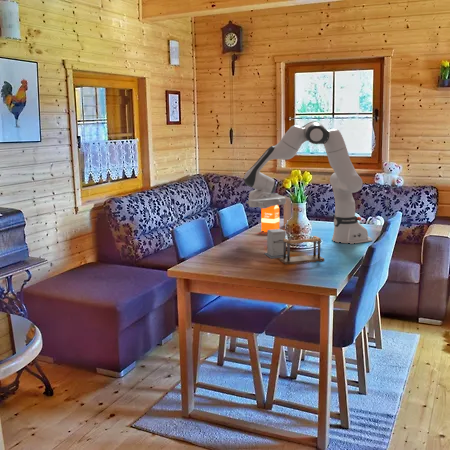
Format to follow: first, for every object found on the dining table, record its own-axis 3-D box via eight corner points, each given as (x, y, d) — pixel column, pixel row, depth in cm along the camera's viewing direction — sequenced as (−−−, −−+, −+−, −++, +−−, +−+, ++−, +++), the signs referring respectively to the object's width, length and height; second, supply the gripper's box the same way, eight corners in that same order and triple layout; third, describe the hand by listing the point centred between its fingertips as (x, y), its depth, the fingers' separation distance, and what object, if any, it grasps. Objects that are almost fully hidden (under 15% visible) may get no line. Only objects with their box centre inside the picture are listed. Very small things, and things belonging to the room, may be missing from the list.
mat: (282, 252, 290) (282, 251, 290) (289, 257, 280) (289, 255, 280) (264, 254, 287) (264, 252, 287) (271, 258, 278) (271, 257, 278)
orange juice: (266, 229, 350) (266, 198, 346) (279, 230, 345) (279, 198, 341) (261, 231, 343) (261, 199, 339) (274, 232, 339) (274, 200, 335)
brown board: (317, 256, 279) (317, 254, 279) (324, 260, 271) (324, 258, 271) (279, 260, 274) (279, 257, 274) (286, 264, 266) (286, 262, 266)
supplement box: (272, 256, 279) (272, 232, 277) (267, 253, 286) (266, 229, 284) (285, 255, 281) (285, 231, 279) (280, 252, 288) (280, 228, 286)
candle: (304, 227, 354) (304, 196, 350) (283, 226, 357) (283, 196, 353) (305, 225, 361) (305, 194, 357) (284, 224, 364) (284, 194, 360)
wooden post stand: (315, 255, 278) (315, 235, 276) (320, 258, 272) (320, 238, 270) (283, 258, 273) (283, 238, 272) (287, 261, 268) (287, 241, 266)
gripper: (244, 196, 301) (252, 199, 288) (280, 193, 306) (289, 196, 293) (245, 207, 302) (253, 211, 289) (280, 204, 307) (289, 208, 294)
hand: (271, 203), depth 291 cm, fingers open, 8 cm apart
